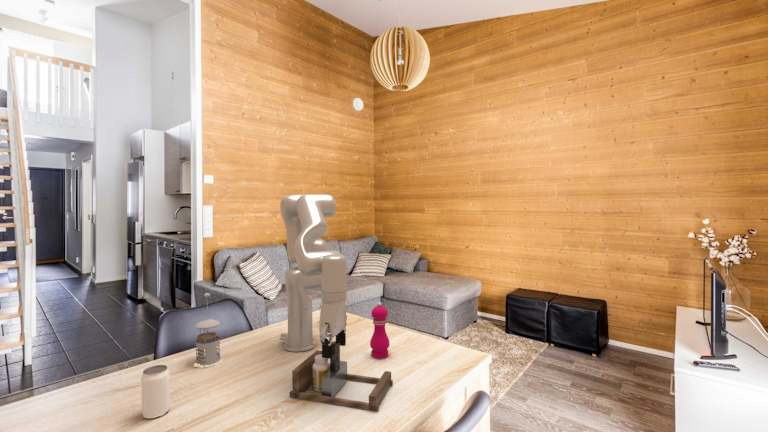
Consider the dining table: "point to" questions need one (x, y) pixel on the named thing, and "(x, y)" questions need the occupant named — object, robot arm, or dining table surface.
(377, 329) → the pepper mill
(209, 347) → the french press
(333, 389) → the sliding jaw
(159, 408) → the can
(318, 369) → the supplement bottle
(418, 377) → the dining table surface
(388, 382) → the vise frame
